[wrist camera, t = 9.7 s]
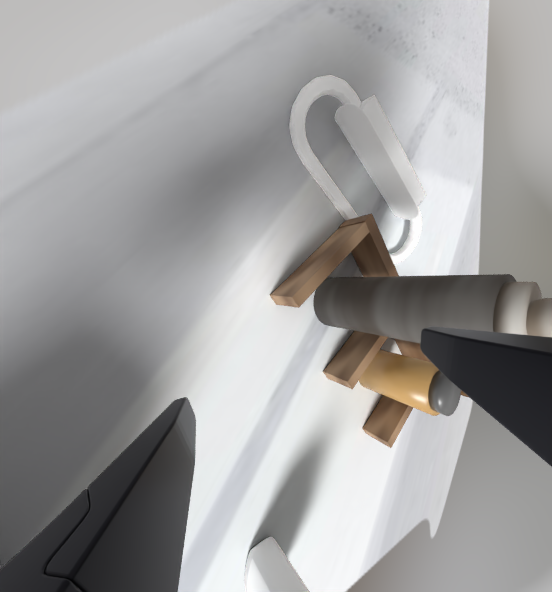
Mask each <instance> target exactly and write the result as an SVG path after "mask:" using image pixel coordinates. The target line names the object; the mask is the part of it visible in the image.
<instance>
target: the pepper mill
mask: <svg viewBox="0 0 552 592" xmlns="http://www.w3.org/2000/svg"><path fill="white" fill-rule="evenodd" d="M314 310H315V313H316V316H317V318H318V319H319V320H320V321H321V322H322V323H323V324H325V325H329V326H334V327H339V328H344V329H349V330H354V331H359V332H364V333H369V334H374V335H379V336H384V337H389V338H395V339H400V340H405V341H410V342H415V343H420V340H421V331H422V329H424V328H427V327H431V326H436V327H446V328H457V329H468V330H478V331H489V332H500V333H510V334H521V335H531V336H542V337H552V298H545V299H542V295H541V291H540V288H539V286H538V284H537V283H536V282H516V280H515V278H514V277H513V276H512V275H510V274H507V275H505V274H504V275H448V276H392V277H336V278H327V279H325V280H324V281H323V282H322V283H321V284H320V285H319V287H318V288H317V290H316V292H315V296H314Z"/></svg>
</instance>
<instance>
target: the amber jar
mask: <svg viewBox="0 0 552 592" xmlns="http://www.w3.org/2000/svg"><path fill="white" fill-rule="evenodd" d="M359 382H360V384H361V385H362V386H363V387H365V388H367V389H370V390H372V391H375V392H377V393H379V394H382V395H384V396H387V397H389V398H392V399H394V400H397V401H399V402H401V403H404V404H406V405H409V406H411V407H414V408H416V409H418V410H421V411H423V412H426V413H428V414H431V415H433V416H436V415H438V414H440V413H441V414H443V415H446V416H450V415H452V414H453V413H454V411H455V410H456V408H457V406H458V403H459V400H460V395H461V390H460V389H459V388H458V387H457V386H456V385H454V384H453V383H452V382H451V381H450V380H449V379H448V378H447V377H446V376H445V375H444V374H443V373H442V372H441V371H440V370H439V369H438V368H437V367H436V366H435V365H434V364H433V363H432V362H428V361H424V360H420V359H416V358H412V357H408V356H404V355H400V354H396V353H392V352H388V351H384V350H379V351H378V353H377V354H376V356H375V357H374V358H373V360H372V361H371V363H370V364H369V366H368V367H367V369H366V370H365V372H364V373H363V374H362V376H361V377H360V379H359Z"/></svg>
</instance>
